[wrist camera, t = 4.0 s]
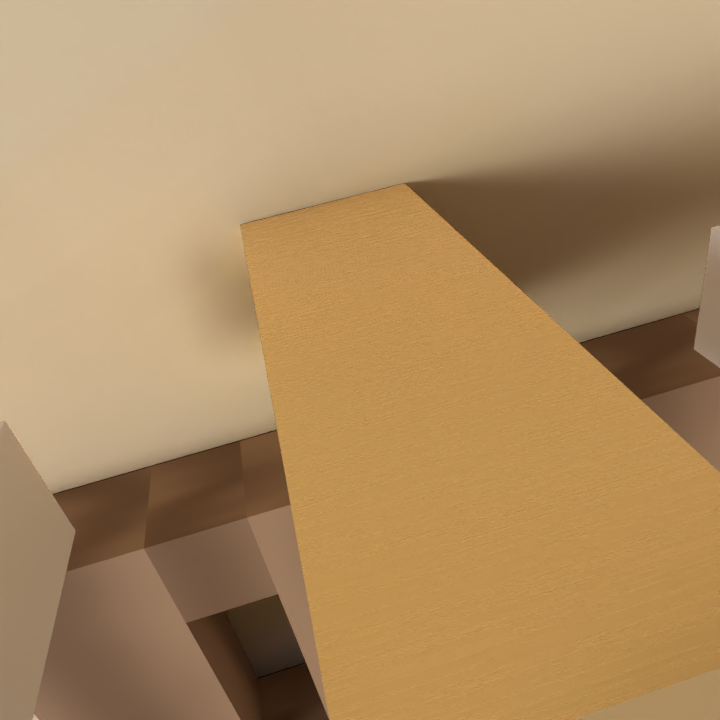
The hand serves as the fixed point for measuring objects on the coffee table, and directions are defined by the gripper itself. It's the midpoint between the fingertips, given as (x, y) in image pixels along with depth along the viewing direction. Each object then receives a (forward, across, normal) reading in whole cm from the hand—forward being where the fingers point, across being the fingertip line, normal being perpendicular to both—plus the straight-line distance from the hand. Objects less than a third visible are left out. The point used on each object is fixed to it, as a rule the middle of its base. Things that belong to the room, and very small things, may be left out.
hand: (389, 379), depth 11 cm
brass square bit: (+5, 0, 0) cm, 5 cm away
